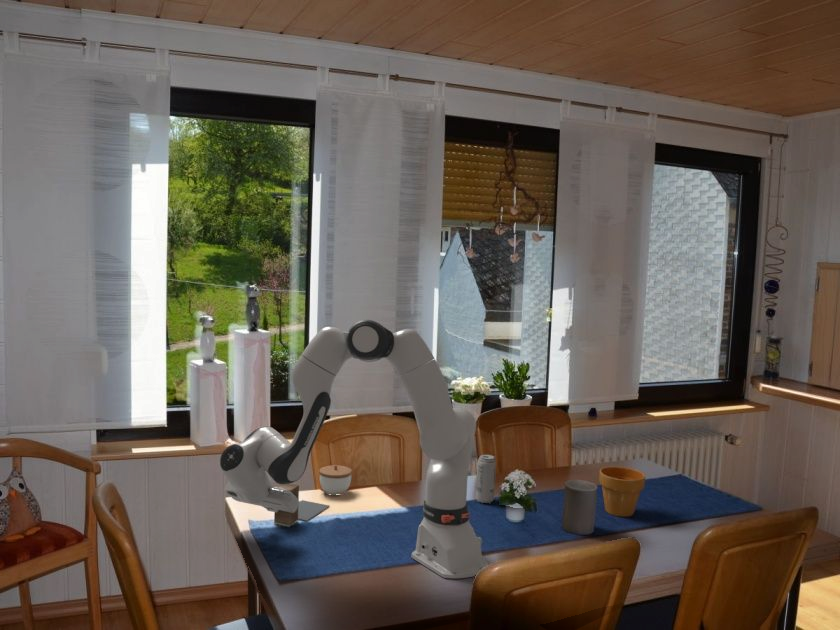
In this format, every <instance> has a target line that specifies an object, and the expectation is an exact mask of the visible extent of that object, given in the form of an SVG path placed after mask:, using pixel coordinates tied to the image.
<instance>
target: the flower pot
mask: <svg viewBox="0 0 840 630" xmlns="http://www.w3.org/2000/svg"><path fill="white" fill-rule="evenodd" d="M598 478H599V484H600V485H601V487H602V488H601V489H602V496H603V501H604V502H603V503H604V508H605V509H604V510H605V512H607V513H608V514H610V515H613V516H616V517H619V518H620V517H621V518H623V517H624V518H628V517H631V516H633V515H634V513H635V510H636V508H637V504H638V501H639V498H640V494H641V491H642V490H643V489H644V488H645V483H646V475H645V473H643V472H641V471H639V470H637V469H634V468H630V467H625V466H624V467H623V466H605V467H602V468H600V470H599V477H598Z"/></svg>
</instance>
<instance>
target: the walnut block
mask: <svg viewBox="0 0 840 630" xmlns="http://www.w3.org/2000/svg"><path fill="white" fill-rule="evenodd" d="M276 487H278V488H283V489H286V490H288V491H290V492H291V493H292V494H294V495H295V497H296V498H297V499H298V500H299V501H300V499H299V498H300V485H299V484H293V483H289V484H278V486H276ZM273 517H274V519H273V520H274V522H273V524H274V525H277V524H279V525H278V526H281V525H283V527H286V526H287V528H290V527H292V526H293V525H294V523H295V524H296V523H298V522H299V520H298V508H297V510H296V511H295V512H294V513H291V512H286V511H282V510H278V512H277V513H276V512H274V516H273ZM297 521H298V522H297ZM291 525H292V526H291Z"/></svg>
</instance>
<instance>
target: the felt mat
mask: <svg viewBox="0 0 840 630" xmlns="http://www.w3.org/2000/svg"><path fill="white" fill-rule="evenodd" d="M329 506H330V505H328V504H324V503H319V502H315V501H314V502H313V501H310V500H309V501H307V500H304V499H303V500H299V505H298V521H301V520H302V522H306V521H307V522H309V521H310V520H312V519H313V518H315V517H316V516H318V515H320V514H321V513H322V511H323V510H324V511H326V510H327V509H329V508H330V507H329ZM328 507H329V508H328ZM326 508H327V509H326ZM325 509H326V510H325ZM324 511H323V512H324ZM319 513H320V514H319ZM311 518H312V519H311ZM308 520H309V521H308Z"/></svg>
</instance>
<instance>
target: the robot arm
mask: <svg viewBox="0 0 840 630" xmlns="http://www.w3.org/2000/svg"><path fill="white" fill-rule="evenodd" d="M352 358H353V359H357V360H360V361H362V362H366V363H372V362H377V361H379V360H381V359H384V360H387V361H388V362H389V363H390V364H391V366H392V367H393V369H394V371H395V373H396V375H397V378H398V379H399V381H400V384H401V386H402V388H403V389H404V392H405V393H406V396H407V398H408V400H409V402H410V405H411V408H412V411H413V414H414V417H415V421H416V422H415V423H416V425H417V429H418V431H419V445H420V449H421V451H422V452H423V453H424V454H425V456H426V457H428V458H429V459H430V461H429V466H428V469H427V471H426V481H425V483H426V484H425V499H424V501H423V505H422V506H423V507H422V515H423V519H422V520H421V522H420V524H419V525H418V529H417V536H416V537H417V538H416V542H415V550H413V551H412V552H411V556H410V557H411V558H412V559H413V560H415V561H416V562H418V563H419V564H421V565H422V566H424V567H426V568H428V569H429V570H430V571H432V572H434V573H435V574H437V575H439V577H442V578H444V579H465V578H466V579H467V578H471V577H476V576H475V575H476V574H477V573H478V572H479V571H480V570H481V569H482V568H483V567H485V566H487V565H488V564H489V563H488V562H487V561H486V559H485V558H484V556H482V545H483V539H482V537H481V536H477V534H476V532H475V528H474V527H473V526H472V524H471V523H470V517H471V516H470V515H471V513H470V512H469V511H470V510H469V507H468V503H467V496H468V495H467V493H468V492H467V491H468V477H469V469H470V465H471V459H472V453H473V448H474V447H473V446H474V439H475V434H476V429H477V422H476V419H475V417H474V415H473V414H472V412H470V411H469V410H467V409H466V408H463V407H453V403H452V400H451V398H450V397H451V396H450V392H449V385H448V383H447V380H446V378H445V377H444V374H443V372H442V370H441V368H440V366H439V365H438V362H437V361H436V359H435V356H434V355H433V353H432V351H431V349H430V348H429V346H428V345H427V343H426V342H425V341H424V339H423V337H422V336H421V335H420V334H419V333H418V332H417V331H416V330H415V329H412V328H404V329H401V330H398V331H395V332H392V331H391V330H390V329H389V328H386V327H385V326H383V325H382V324H381V323H379V322H377V321H375V320H372V319H362V320H361V319H360V320H358V321H357V322H355V323H353V324H352V325H351V327H350V328H349V330H348V331H345V330H342V329H340V328H339V327H335V326H325V327H323V328H321V329H320V330H319V331H318V332H317V333H316V334H315V336H314V337H313V338H312V339H311V340H310V342H309V343H308V345H306V347H305V349H304V350H303V351H302V353H301V354H300V356H299V358H298V359H297V361H296V362H295V365H294V367H293V369H292V371H291V372H292V374H291V376H292V383H293V387H294V389H295V391H296V393H297V394H298V396H299V398H300V400H301V404H302V406H303V407H302V408H303V415H302V418H301V421H300V422H299V425H298V427H297V429H296V432H295V434H294V437H292V438H293V439H292V440H291V442H290V441H289V440H288V439H287V438H286V437H284V436H283V435H282V434H281V433H280V432H279V431H277V430H276V429H275V428H273V427H272V426H267V425H266V426H261V427H258V428H257V429H254V430H253V431H252V432H251V433H250V434H248V435H247V437H245V439H244V440H243V441H241V442H238V443H232V444H230V445H229V446H227V447H226V448H225V449H224V450H223V451H222V453H221V455H220V459H219V466H220V469H221V470H220V471H221V472H222V473H223V476H224V477H225V479H226V480H227V483H226V485H225V488H224V492H225V493H226V494H227V495H229V496H230V497H231V498H232V499H233V500H234V501H236V502H238V503H239V502H240V503H244V504H249V505H252V506H253V505H254V506H259V507H262V508H264V509H266V511H268V512H273V513H275V512H276V513H277V512H278V510H282V511H286V512H291V513H294V512H295V511H296V510H297V508H298V505H299V502H300V499H299V500H298V499H297V498H296V497H295V495H294V494H292V493H291V492H290V491H288V490H286V489H283V488H278V487H277V486H273V481H275V483H276V484H278V485H281V484H293V483H295V482H298V480H300V478H302V477H303V475H304V473H305V472H306V470H307V469H306V468H307V466H308V461H309V458H310V455H311V452H312V450H313V447H314V445H315V443H316V441H317V439H318V436H319V434H320V431H321V429H322V427H323V426H324V422H325V420H326V418H327V416H328V413H329V410H330V407H331V402H332V399H331V390H332V387H333V383H334V381H335V379H336V377H337V376H338V374H339V372H340V371H341V369H342V367H343V366H344V365H345V363H346V362H347V361H349V360H350V359H352ZM271 478H272V479H271Z"/></svg>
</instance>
